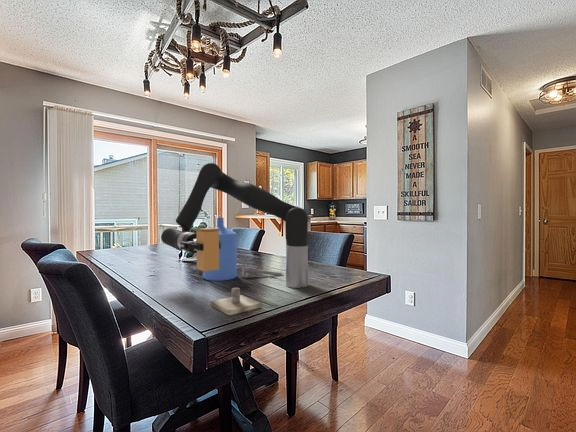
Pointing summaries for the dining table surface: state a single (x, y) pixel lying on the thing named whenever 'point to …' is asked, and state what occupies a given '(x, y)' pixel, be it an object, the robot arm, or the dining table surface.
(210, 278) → the water jug
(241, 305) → the stub plate
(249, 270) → the caliper
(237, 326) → the dining table surface
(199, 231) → the orange tall block
